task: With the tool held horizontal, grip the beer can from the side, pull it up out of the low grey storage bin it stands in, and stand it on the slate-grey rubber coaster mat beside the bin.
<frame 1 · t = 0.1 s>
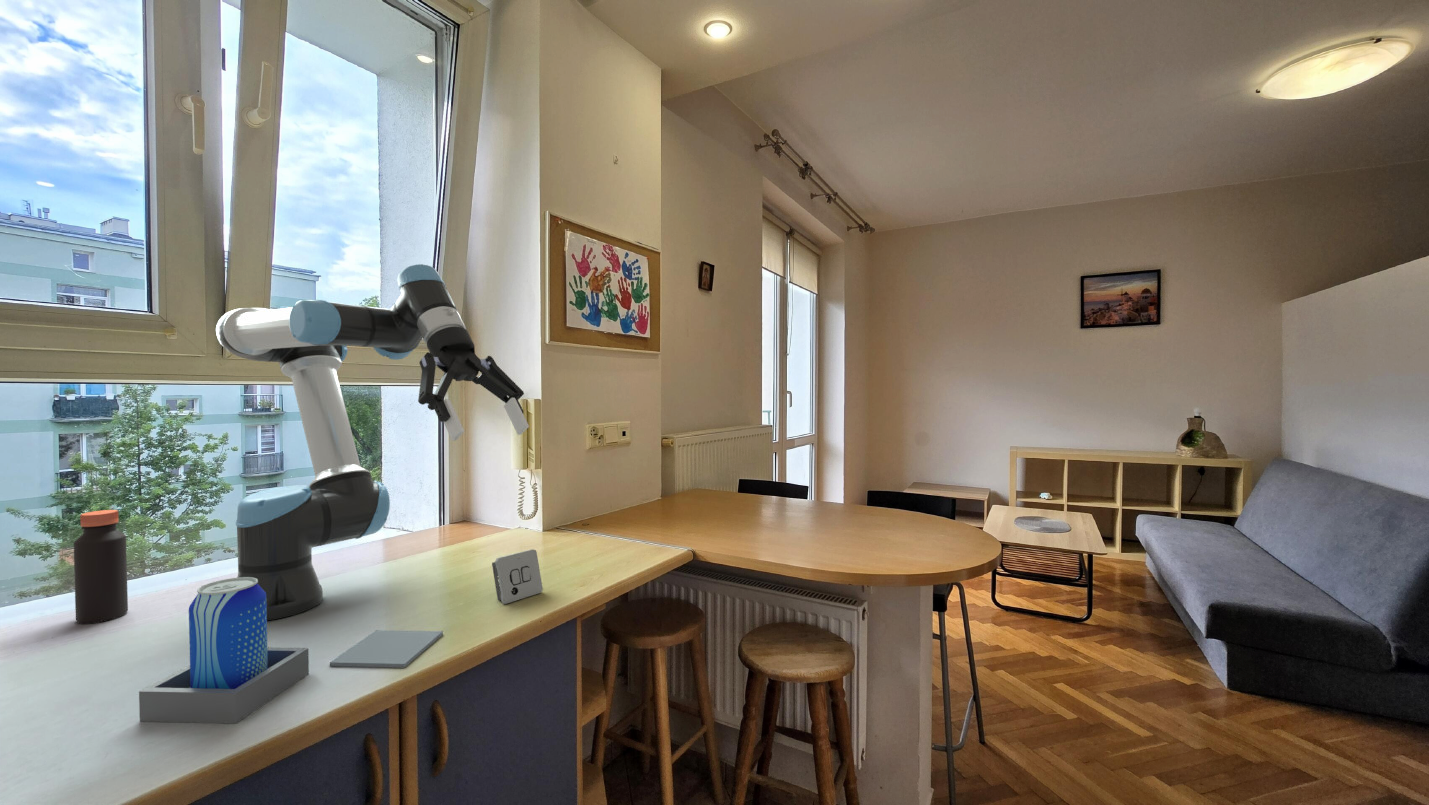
hand: (492, 433, 101), 36 cm above the counter, tool tilted 35°, fingers open, 13 cm apart
grey storage bin: (230, 695, 82), on the counter
electrical switch: (516, 597, 122), on the counter
beer can: (230, 697, 82), resting in grey storage bin
bottle: (102, 618, 110), on the counter
coaster mat: (389, 649, 97), on the counter
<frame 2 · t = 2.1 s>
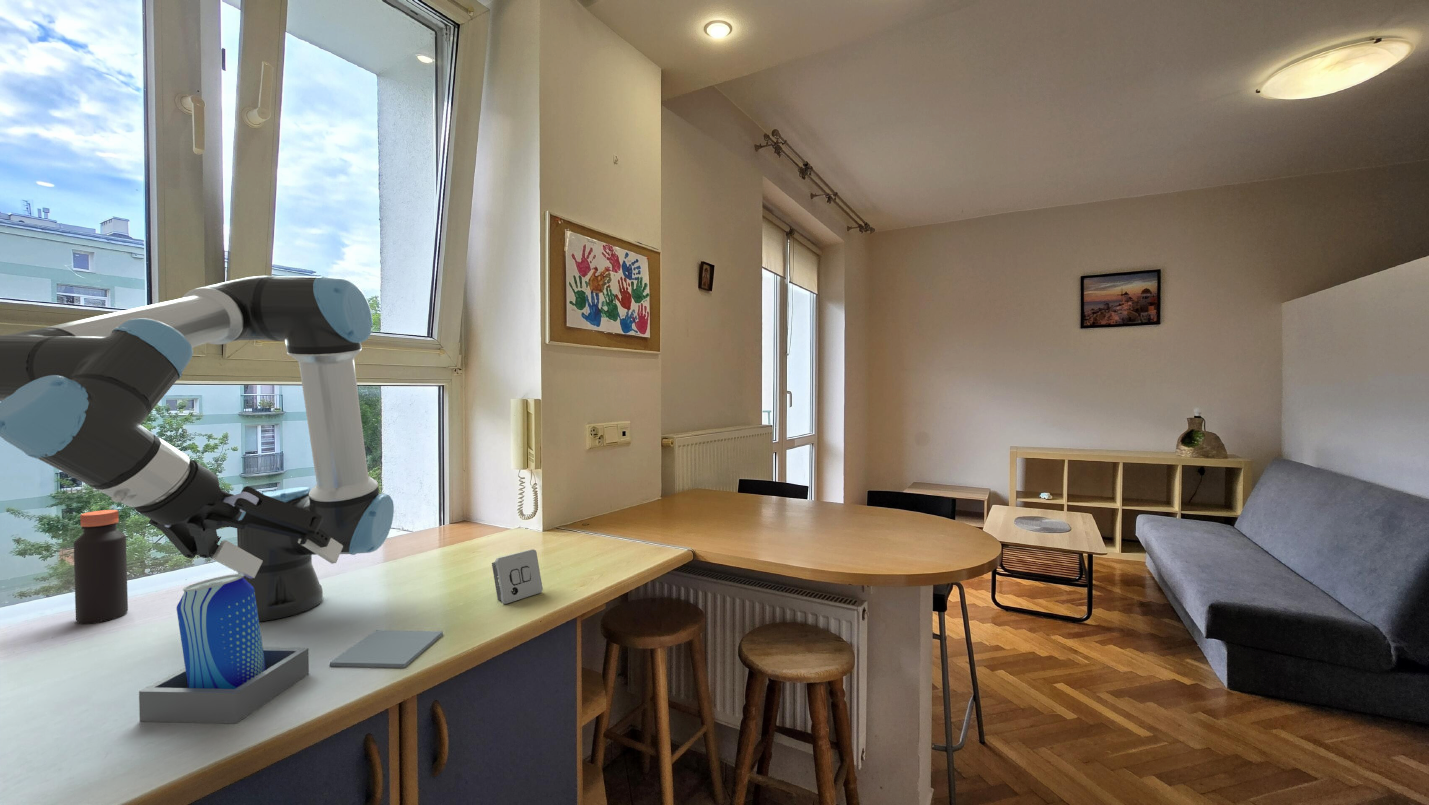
hand: (296, 562, 85), 18 cm above the counter, tool tilted 50°, fingers open, 13 cm apart
beer can: (230, 693, 82), resting in grey storage bin, touching gripper
everything else where it was.
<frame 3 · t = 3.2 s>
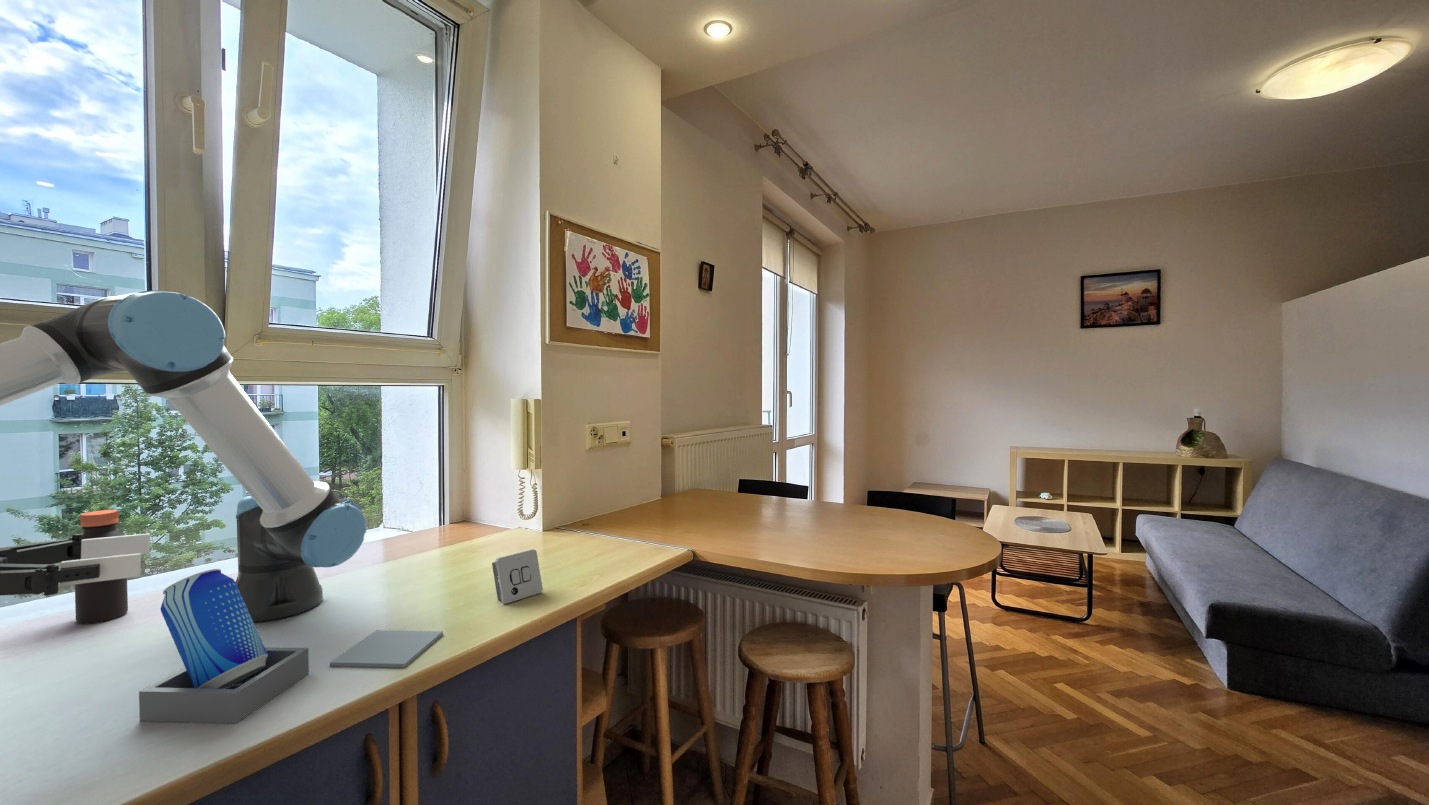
hand: (145, 553, 76), 22 cm above the counter, tool horizontal, fingers open, 13 cm apart
beer can: (237, 681, 83), point 2 cm above the counter, touching grey storage bin
everything else where it was.
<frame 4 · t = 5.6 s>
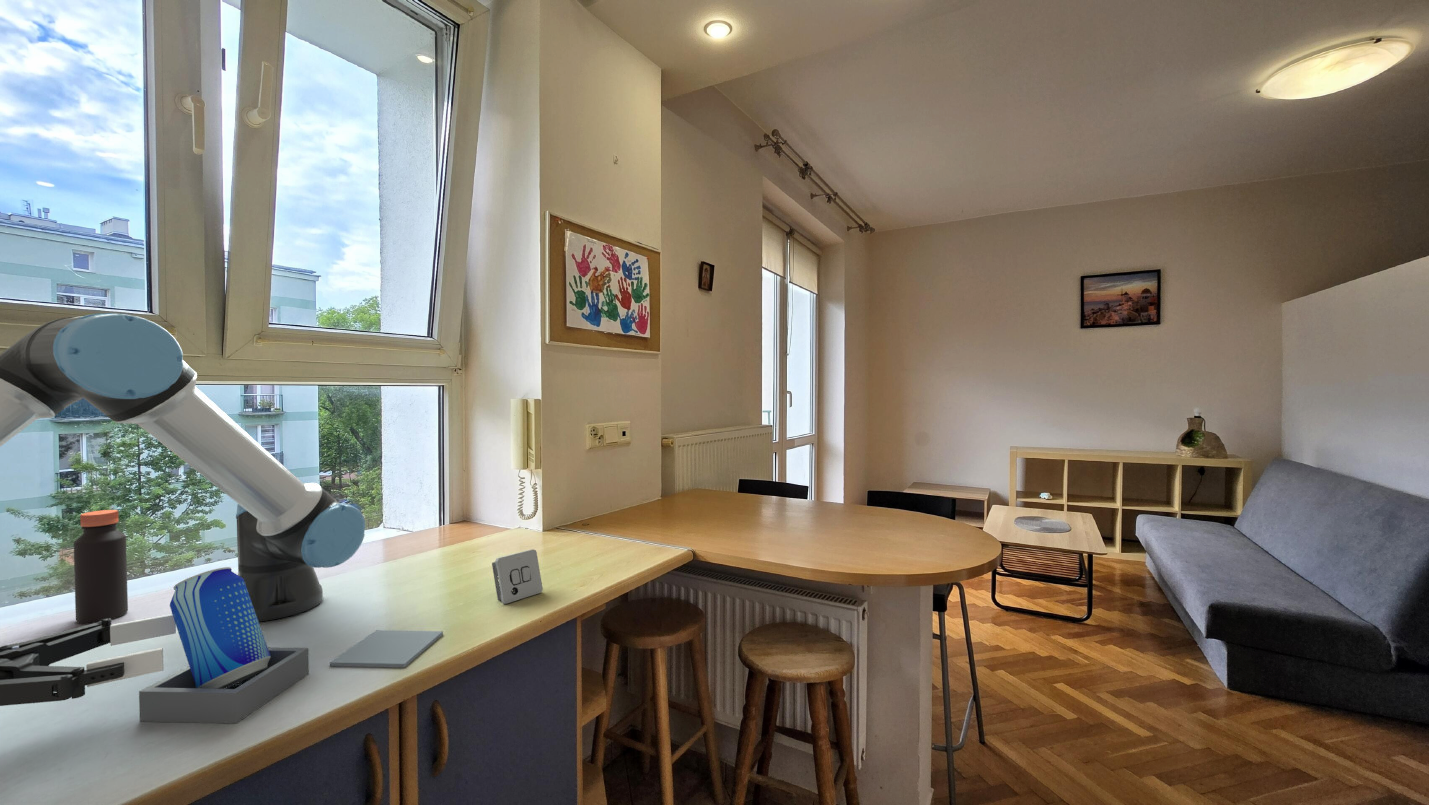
hand: (170, 639, 78), 10 cm above the counter, tool horizontal, fingers open, 13 cm apart
beer can: (238, 682, 83), point 2 cm above the counter
everything else where it was.
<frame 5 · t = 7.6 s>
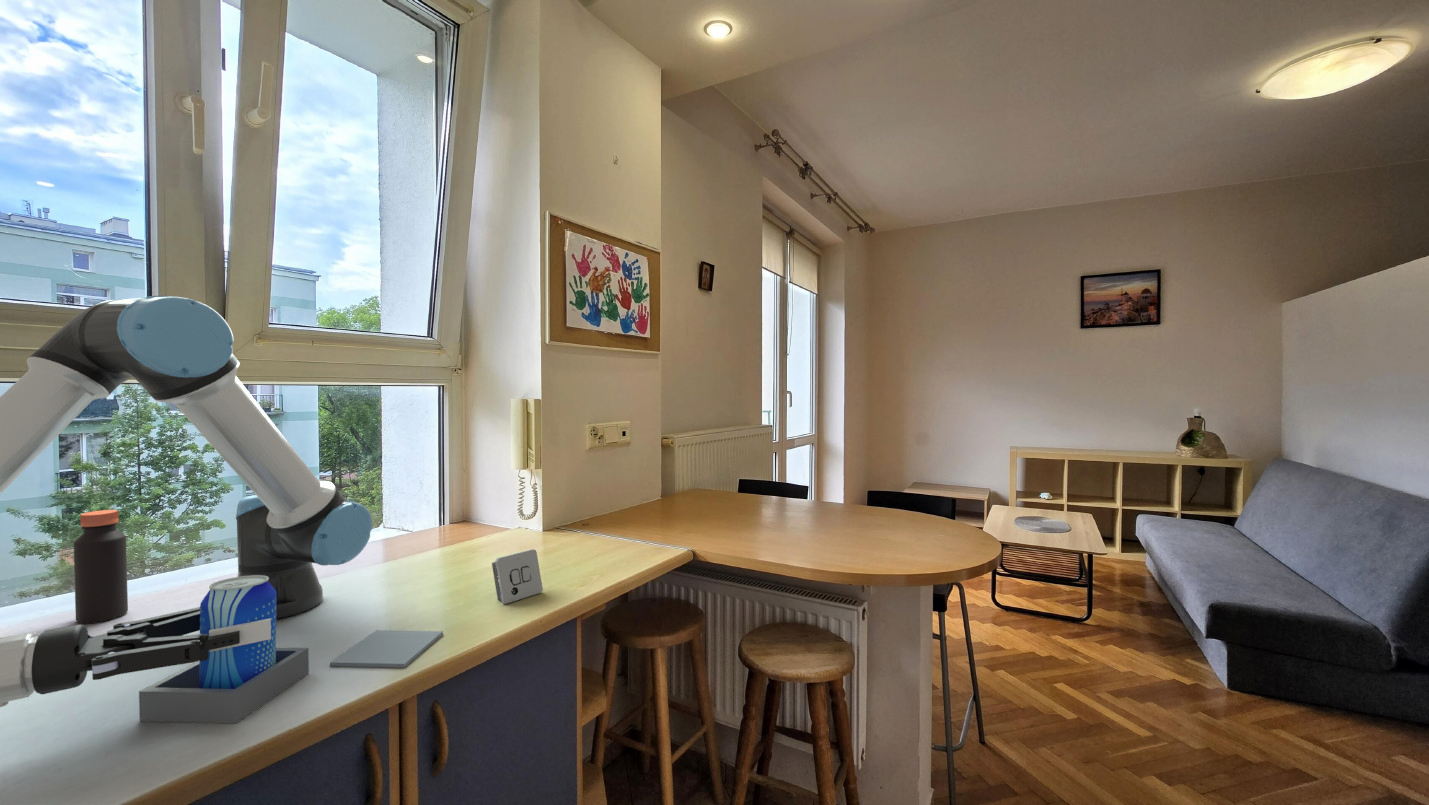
hand: (270, 618, 85), 10 cm above the counter, tool horizontal, fingers closed on beer can, 8 cm apart
beer can: (238, 695, 82), resting in grey storage bin, touching gripper
everything else where it was.
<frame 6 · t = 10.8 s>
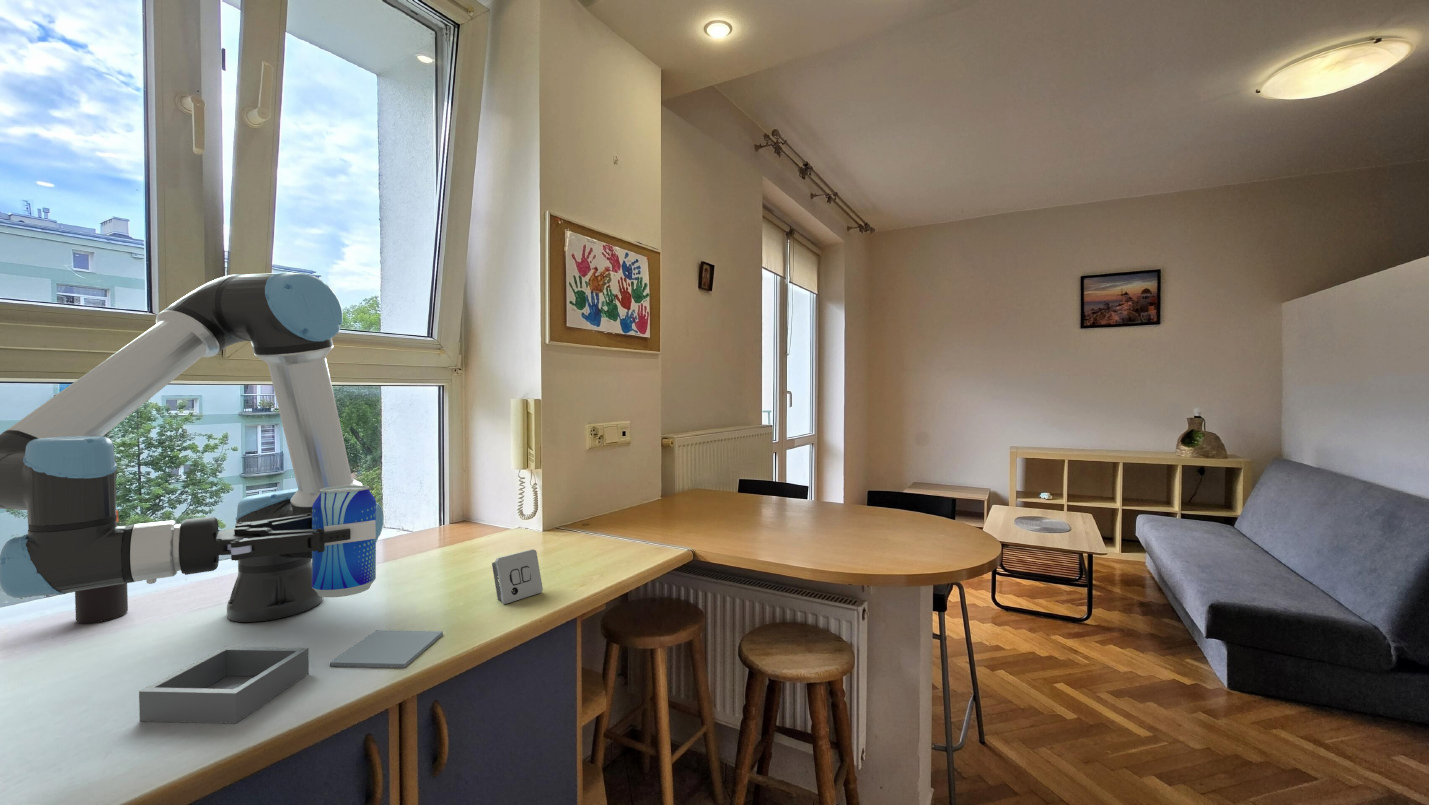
hand: (371, 523, 93), 22 cm above the counter, tool horizontal, fingers closed on beer can, 8 cm apart
beer can: (344, 591, 90), point 12 cm above the counter, touching gripper
everything else where it was.
when the fingers open (12 cm above the counter, at t = 13.7 s): beer can drops 2 cm, resting on coaster mat.
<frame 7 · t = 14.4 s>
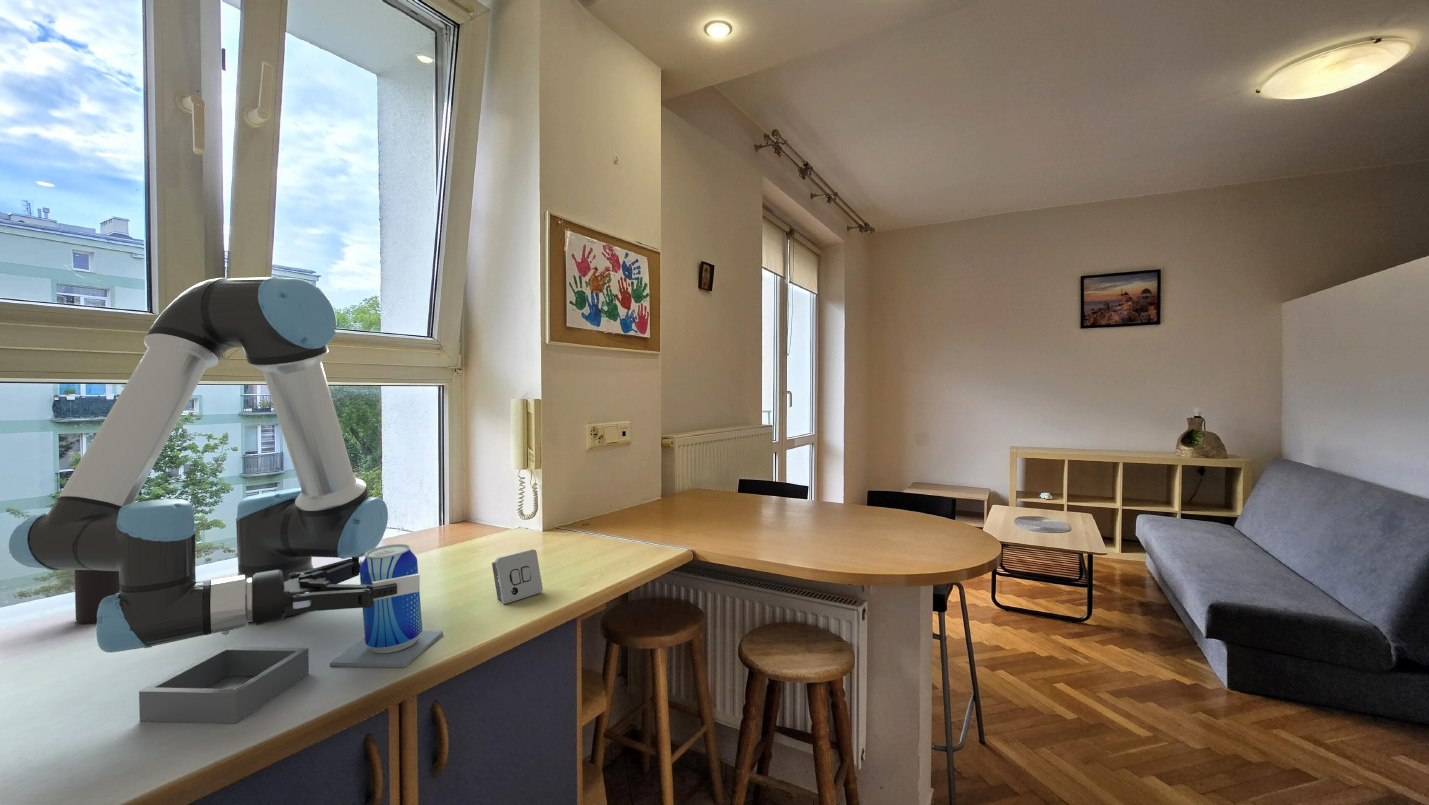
hand: (410, 571, 99), 12 cm above the counter, tool horizontal, fingers open, 13 cm apart
beer can: (395, 644, 97), point 1 cm above the counter, touching coaster mat
everything else where it was.
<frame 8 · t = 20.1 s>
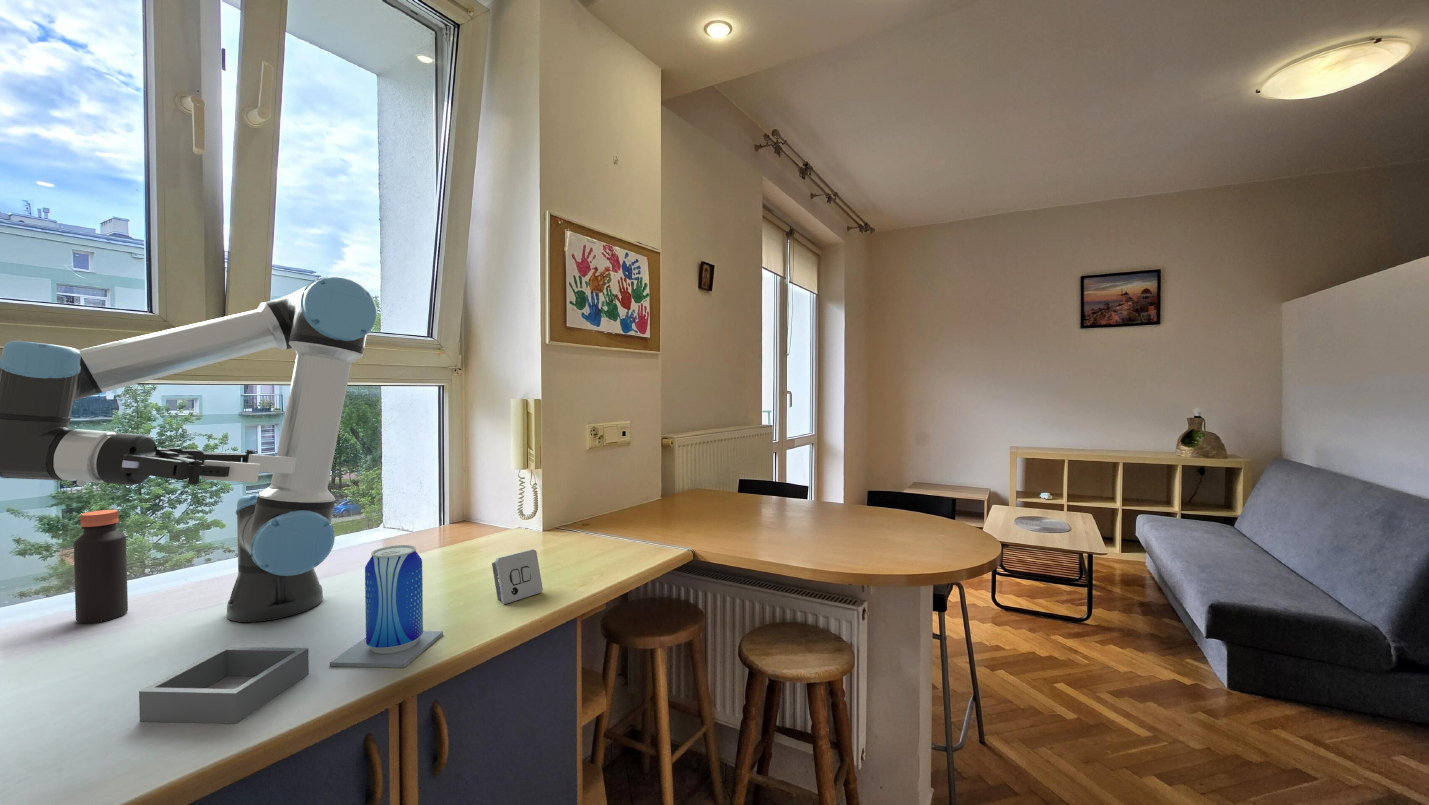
hand: (279, 469, 92), 31 cm above the counter, tool horizontal, fingers open, 13 cm apart
at the end: beer can inside the target area on the coaster mat (0.8 cm from its centre), point 0.4 cm above the coaster mat's base; beer can tilted 0°; the gripper is holding nothing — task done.
